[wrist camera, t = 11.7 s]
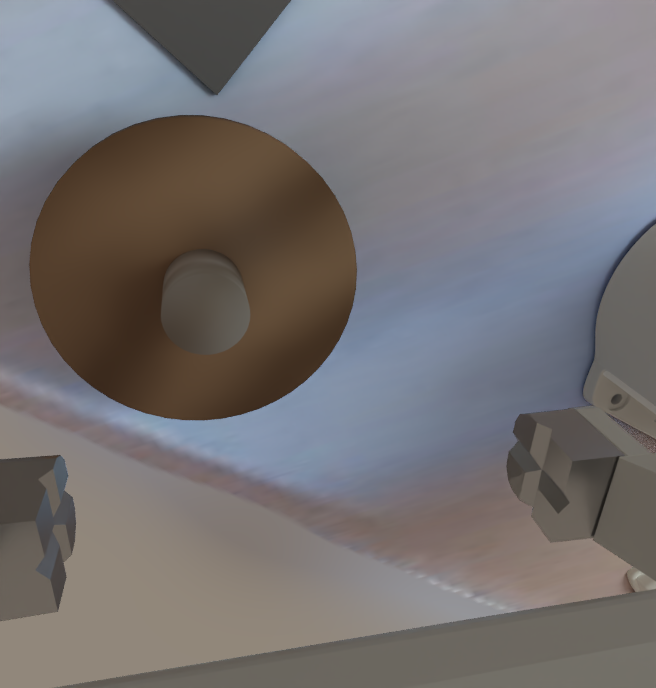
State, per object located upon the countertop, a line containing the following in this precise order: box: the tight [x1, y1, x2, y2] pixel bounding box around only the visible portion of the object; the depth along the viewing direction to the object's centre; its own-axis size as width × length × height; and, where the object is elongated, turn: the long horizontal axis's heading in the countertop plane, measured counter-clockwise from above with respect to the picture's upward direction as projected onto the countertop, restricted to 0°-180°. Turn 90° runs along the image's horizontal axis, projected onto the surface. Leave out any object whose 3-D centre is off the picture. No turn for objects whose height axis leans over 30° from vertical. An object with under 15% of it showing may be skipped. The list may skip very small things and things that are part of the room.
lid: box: [29, 115, 357, 420], centre depth 23 cm, size 13×13×4 cm
